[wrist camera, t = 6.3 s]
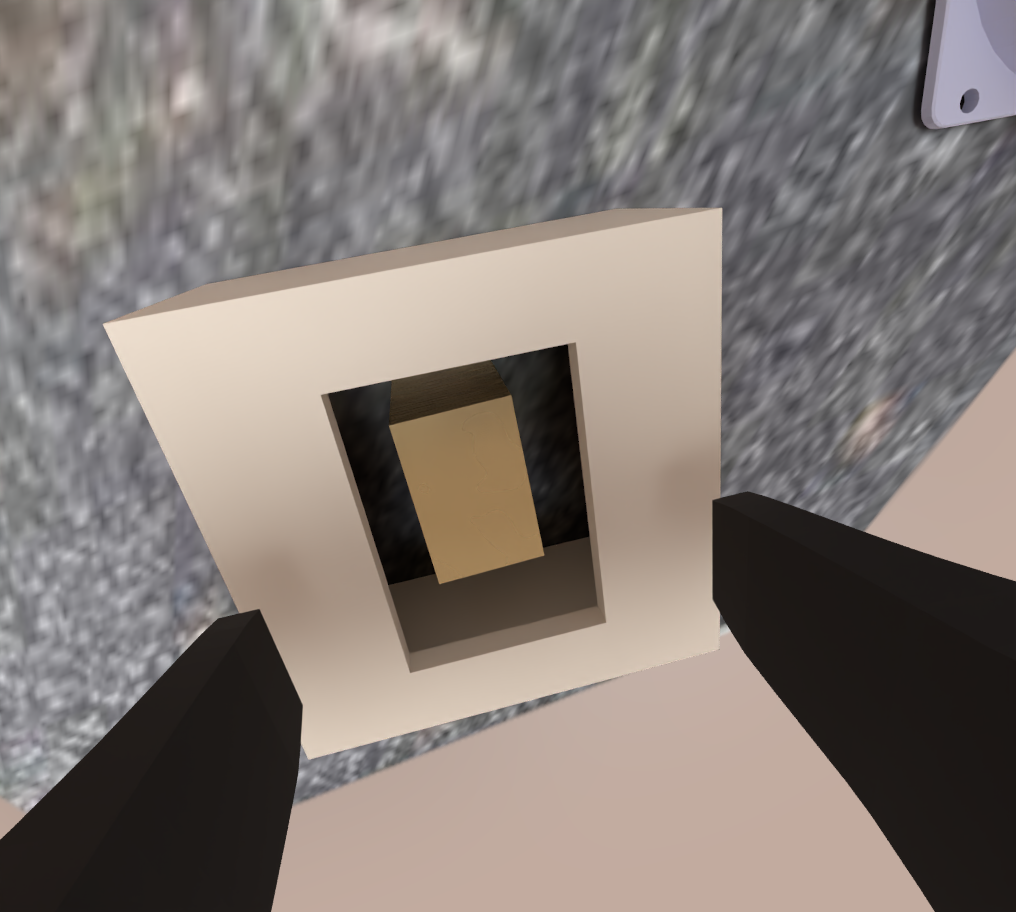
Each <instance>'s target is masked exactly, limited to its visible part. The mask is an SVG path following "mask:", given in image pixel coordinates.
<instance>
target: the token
mask: <svg viewBox="0 0 1016 912" xmlns="http://www.w3.org/2000/svg"><path fill="white" fill-rule="evenodd" d="M389 427H390V430H391V433H392V437H393V440H394V443H395V446H396V449H397V452H398V455H399V459H400V462H401V465H402V468H403V471H404V474H405V478H406V481H407V484H408V487H409V490H410V493H411V496H412V500H413V503H414V506H415V509H416V512H417V515H418V519H419V522H420V525H421V528H422V531H423V534H424V538H425V541H426V544H427V547H428V550H429V553H430V556H431V560H432V563H433V566H434V569H435V572H436V575H437V579H438V582H439V584H442V583H446V582H449V581H453V580H457V579H460V578H464V577H468V576H471V575H475V574H479V573H482V572H486V571H490V570H493V569H497V568H500V567H504V566H508V565H511V564H515V563H519V562H522V561H526V560H530V559H533V558H537V557H541V556H544V551H543V546H542V541H541V537H540V532H539V527H538V522H537V517H536V512H535V508H534V503H533V498H532V493H531V488H530V483H529V479H528V474H527V469H526V464H525V459H524V455H523V450H522V445H521V440H520V435H519V430H518V426H517V421H516V416H515V411H514V406H513V402H512V397H511V394H510V392H509V391H508V389H507V387H506V386H505V384H504V382H503V380H502V379H501V377H500V375H499V374H498V372H497V370H496V369H495V367H494V365H493V363H492V362H491V360H487V361H482V362H477V363H472V364H468V365H463V366H458V367H453V368H448V369H443V370H439V371H434V372H429V373H424V374H419V375H414V376H410V377H405V378H400V379H395V380H392V385H391V402H390V418H389Z"/></svg>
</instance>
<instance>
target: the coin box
mask: <svg viewBox="0 0 1016 912" xmlns="http://www.w3.org/2000/svg"><path fill="white" fill-rule="evenodd" d="M721 311H722V208H632V209H612V210H607V211H601V212H596V213H590V214H585V215H580V216H574V217H569V218H563V219H558V220H552V221H547V222H541V223H536V224H531V225H525V226H520V227H514V228H509V229H503V230H498V231H493V232H487V233H482V234H476V235H471V236H465V237H460V238H455V239H449V240H444V241H438V242H433V243H427V244H422V245H416V246H411V247H406V248H400V249H395V250H389V251H384V252H378V253H373V254H368V255H362V256H357V257H351V258H346V259H340V260H335V261H330V262H324V263H319V264H313V265H308V266H302V267H297V268H291V269H286V270H281V271H275V272H270V273H264V274H259V275H253V276H248V277H243V278H237V279H232V280H226V281H221V282H215V283H210V284H205V285H203V286H200V287H198V288H195V289H192V290H190V291H187V292H185V293H182V294H179V295H177V296H174V297H172V298H169V299H166V300H164V301H161V302H158V303H156V304H153V305H151V306H148V307H145V308H143V309H140V310H138V311H135V312H132V313H130V314H127V315H125V316H122V317H119V318H117V319H114V320H111V321H109V322H106V323H104V324H103V326H104V328H105V330H106V332H107V334H108V336H109V338H110V340H111V342H112V345H113V347H114V349H115V351H116V353H117V355H118V357H119V359H120V361H121V364H122V366H123V368H124V370H125V372H126V374H127V376H128V378H129V380H130V383H131V385H132V387H133V389H134V391H135V393H136V395H137V397H138V400H139V402H140V404H141V406H142V408H143V410H144V412H145V414H146V416H147V419H148V421H149V423H150V425H151V427H152V429H153V431H154V433H155V435H156V438H157V440H158V442H159V444H160V446H161V448H162V450H163V452H164V455H165V457H166V459H167V461H168V463H169V465H170V467H171V469H172V471H173V474H174V476H175V478H176V480H177V482H178V484H179V486H180V488H181V490H182V493H183V495H184V497H185V499H186V501H187V503H188V505H189V507H190V509H191V512H192V514H193V516H194V518H195V520H196V522H197V524H198V526H199V529H200V531H201V533H202V535H203V537H204V539H205V541H206V543H207V545H208V548H209V550H210V552H211V554H212V556H213V558H214V560H215V562H216V564H217V567H218V569H219V571H220V573H221V575H222V577H223V579H224V581H225V583H226V586H227V588H228V590H229V592H230V594H231V596H232V598H233V600H234V603H235V605H236V607H237V609H238V611H239V613H244V612H248V611H252V610H256V609H260V611H261V613H262V615H263V618H264V620H265V622H266V624H267V627H268V629H269V631H270V633H271V635H272V638H273V640H274V642H275V644H276V647H277V649H278V651H279V653H280V655H281V658H282V660H283V662H284V664H285V666H286V669H287V671H288V673H289V675H290V678H291V680H292V682H293V684H294V686H295V689H296V691H297V693H298V695H299V698H300V700H301V702H302V704H303V714H302V731H301V744H302V746H303V748H304V751H305V753H306V755H307V757H308V759H313V758H317V757H320V756H324V755H328V754H331V753H335V752H339V751H343V750H346V749H350V748H354V747H358V746H361V745H365V744H369V743H373V742H376V741H380V740H384V739H388V738H391V737H395V736H399V735H402V734H406V733H410V732H414V731H417V730H421V729H425V728H429V727H432V726H436V725H440V724H444V723H447V722H451V721H455V720H458V719H462V718H466V717H470V716H473V715H477V714H481V713H485V712H488V711H492V710H496V709H500V708H503V707H507V706H511V705H515V704H518V703H522V702H526V701H529V700H533V699H537V698H541V697H544V696H548V695H552V694H556V693H559V692H563V691H567V690H571V689H574V688H578V687H582V686H586V685H589V684H593V683H597V682H600V681H604V680H608V679H612V678H615V677H619V676H623V675H627V674H630V673H634V672H638V671H642V670H645V669H649V668H653V667H656V666H660V665H664V664H668V663H671V662H675V661H679V660H682V659H686V658H690V657H694V656H697V655H701V654H705V653H709V652H712V651H716V650H719V649H720V646H719V645H720V644H719V643H720V612H719V610H718V608H717V607H716V605H715V603H714V602H713V600H712V500H714V499H718V498H720V481H721ZM565 344H568V350H569V359H570V368H571V377H572V385H573V394H574V403H575V411H576V420H577V429H578V438H579V446H580V455H581V464H582V472H583V481H584V490H585V499H586V507H587V516H588V525H589V533H590V537H586V538H582V539H578V540H574V541H570V542H565V543H561V544H557V545H553V546H549V547H545V548H543V551H544V556H541V557H537V558H533V559H530V560H526V561H522V562H519V563H515V564H511V565H508V566H504V567H500V568H497V569H493V570H490V571H486V572H482V573H479V574H475V575H471V576H468V577H464V578H460V579H457V580H453V581H449V582H446V583H442V584H439V582H438V579H437V575H436V574H433V575H429V576H425V577H420V578H416V579H412V580H408V581H404V582H400V583H396V584H391V585H388V583H387V580H386V577H385V574H384V571H383V567H382V564H381V561H380V558H379V555H378V552H377V548H376V545H375V542H374V539H373V536H372V533H371V529H370V526H369V523H368V520H367V517H366V514H365V510H364V507H363V504H362V501H361V498H360V495H359V491H358V488H357V485H356V482H355V479H354V476H353V472H352V469H351V466H350V463H349V460H348V457H347V454H346V450H345V447H344V444H343V441H342V438H341V435H340V431H339V428H338V425H337V422H336V419H335V416H334V412H333V409H332V406H331V403H330V400H329V397H328V393H332V392H337V391H342V390H347V389H351V388H356V387H361V386H366V385H371V384H376V383H380V382H385V381H390V380H395V379H400V378H405V377H410V376H414V375H419V374H424V373H429V372H434V371H439V370H443V369H448V368H453V367H458V366H463V365H468V364H472V363H477V362H482V361H487V360H492V359H497V358H502V357H506V356H511V355H516V354H521V353H526V352H531V351H536V350H540V349H545V348H550V347H555V346H560V345H565Z"/></svg>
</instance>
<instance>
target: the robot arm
mask: <svg viewBox="0 0 1016 912" xmlns="http://www.w3.org/2000/svg"><path fill="white" fill-rule="evenodd" d="M963 95H964V100H965V102H964V105H963V108H962V109H960V101H961V98H962V96H963ZM1013 115H1016V0H936V6H935V13H934V20H933V27H932V35H931V42H930V49H929V56H928V64H927V71H926V78H925V86H924V93H923V100H922V107H921V119H922V121H923V123H924V125H925V126H926V127H928V128H929V129H940V128H947V127H952V126H958V125H963V124H969V123H974V122H980V121H985V120H991V119H997V118H1002V117H1008V116H1013ZM712 600H713V602H714V603H715V605H716V607H717V608H718V610H719V612H720V613H721V615H722V617H723V619H724V620H725V622H726V624H727V625H728V627H729V629H730V630H731V632H732V634H733V635H734V637H735V638H736V640H737V642H738V643H739V645H740V646H741V648H742V650H743V651H744V653H745V654H746V656H747V657H748V658H749V659H750V661H751V662H752V663H753V665H754V666H755V667H756V669H757V670H758V671H759V672H760V674H761V675H762V676H763V677H764V679H765V680H766V681H767V683H768V684H769V685H770V686H771V688H772V689H773V690H774V692H775V693H776V694H777V695H778V697H779V698H780V699H781V700H782V702H783V703H784V704H785V705H786V707H787V708H788V709H789V710H790V712H791V713H792V714H793V715H794V717H795V718H796V719H797V720H798V722H799V723H800V724H801V725H802V727H803V728H804V729H805V730H806V732H807V733H808V734H809V735H810V737H811V738H812V739H813V741H814V742H815V743H816V744H817V746H819V748H820V749H821V751H822V752H823V753H824V754H825V756H826V757H827V758H828V759H829V761H830V762H831V763H832V764H833V766H834V767H835V768H836V769H837V770H838V772H839V773H840V774H841V776H842V777H843V778H844V779H845V781H846V782H847V783H848V785H849V786H850V787H851V789H852V790H853V791H854V793H855V794H856V795H857V797H858V798H859V800H860V801H861V802H862V804H863V805H864V806H865V808H866V809H867V810H868V812H869V813H870V814H871V816H872V817H873V819H874V820H875V822H876V823H877V825H878V826H879V828H880V829H881V831H882V832H883V834H884V835H885V837H886V838H887V840H888V841H889V843H890V844H891V845H892V847H893V849H894V850H895V852H896V853H897V855H898V856H899V858H900V859H901V860H902V862H903V864H904V865H905V867H906V868H907V870H908V871H909V873H910V874H911V876H912V877H913V879H914V880H915V882H916V883H917V885H918V886H919V888H920V889H921V891H922V892H923V894H924V896H925V897H926V899H927V900H928V902H929V903H930V905H931V906H932V908H933V910H934V911H935V912H1016V581H1013V580H1009V579H1006V578H1002V577H999V576H996V575H992V574H989V573H986V572H983V571H980V570H976V569H973V568H970V567H967V566H964V565H960V564H957V563H954V562H951V561H948V560H944V559H941V558H938V557H935V556H932V555H929V554H926V553H923V552H920V551H917V550H914V549H911V548H908V547H905V546H903V545H900V544H897V543H894V542H891V541H888V540H885V539H882V538H880V537H877V536H874V535H871V534H868V533H866V532H863V531H860V530H857V529H855V528H852V527H849V526H846V525H844V524H841V523H838V522H835V521H833V520H830V519H827V518H825V517H822V516H819V515H816V514H814V513H811V512H808V511H805V510H803V509H800V508H797V507H794V506H792V505H789V504H786V503H783V502H780V501H777V500H774V499H771V498H768V497H765V496H762V495H758V494H755V493H751V492H748V491H747V492H743V493H739V494H735V495H731V496H727V497H722V498H718V499H714V500H712ZM302 714H303V704H302V702H301V700H300V698H299V695H298V693H297V691H296V689H295V686H294V684H293V682H292V680H291V678H290V675H289V673H288V671H287V669H286V666H285V664H284V662H283V660H282V658H281V655H280V653H279V651H278V649H277V647H276V644H275V642H274V640H273V638H272V635H271V633H270V631H269V629H268V627H267V624H266V622H265V620H264V618H263V615H262V613H261V611H260V609H256V610H252V611H248V612H244V613H239V614H235V615H231V616H227V617H223V618H219V619H217V620H216V621H215V622H214V623H213V624H212V625H211V626H210V627H208V628H207V629H206V630H205V631H204V632H203V633H202V634H201V635H200V636H199V637H198V638H197V639H196V640H195V641H194V642H193V643H192V645H191V646H190V647H189V648H188V649H187V650H186V651H185V652H184V653H183V654H182V655H181V656H180V657H179V658H178V659H177V660H176V661H175V662H174V663H173V665H172V666H171V667H170V668H169V669H168V670H167V671H166V672H165V673H164V674H163V675H162V676H161V677H160V678H159V679H158V681H157V682H156V683H155V684H154V685H153V686H152V687H151V688H150V689H149V690H148V691H147V692H146V693H145V694H144V695H143V696H142V697H141V699H140V700H139V701H138V702H137V703H136V704H135V705H134V706H133V707H132V708H131V709H130V710H129V711H128V712H127V713H126V714H125V715H124V716H123V718H122V719H121V720H120V721H119V722H118V723H117V724H116V725H115V726H114V727H113V728H112V729H111V730H110V731H109V732H108V733H107V734H106V735H105V736H104V738H103V739H102V740H101V741H100V742H99V743H98V744H97V745H96V746H95V747H94V748H93V749H92V750H91V751H90V752H89V753H88V754H87V755H86V756H85V757H84V758H83V759H82V760H81V761H80V762H79V763H78V764H77V765H76V766H75V767H74V768H73V769H72V770H71V771H70V772H69V773H68V774H67V775H66V776H65V777H64V778H63V779H62V780H61V781H60V782H59V783H58V784H57V785H56V786H54V787H53V788H52V789H51V790H50V791H49V792H48V793H47V794H46V795H45V796H44V797H43V798H42V799H41V800H40V801H39V802H38V803H37V804H36V805H35V806H34V807H33V808H32V809H31V810H30V811H29V812H28V813H27V814H26V815H25V816H24V817H23V818H22V819H21V820H20V821H19V823H17V824H16V825H15V826H14V827H13V828H12V829H11V830H10V831H9V832H8V833H7V834H6V835H5V836H4V837H3V838H2V839H0V912H271V909H272V905H273V899H274V895H275V889H276V885H277V879H278V875H279V869H280V864H281V860H282V855H283V850H284V845H285V840H286V835H287V830H288V824H289V819H290V814H291V809H292V804H293V799H294V793H295V788H296V783H297V777H298V769H299V758H300V746H301V731H302Z"/></svg>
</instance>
